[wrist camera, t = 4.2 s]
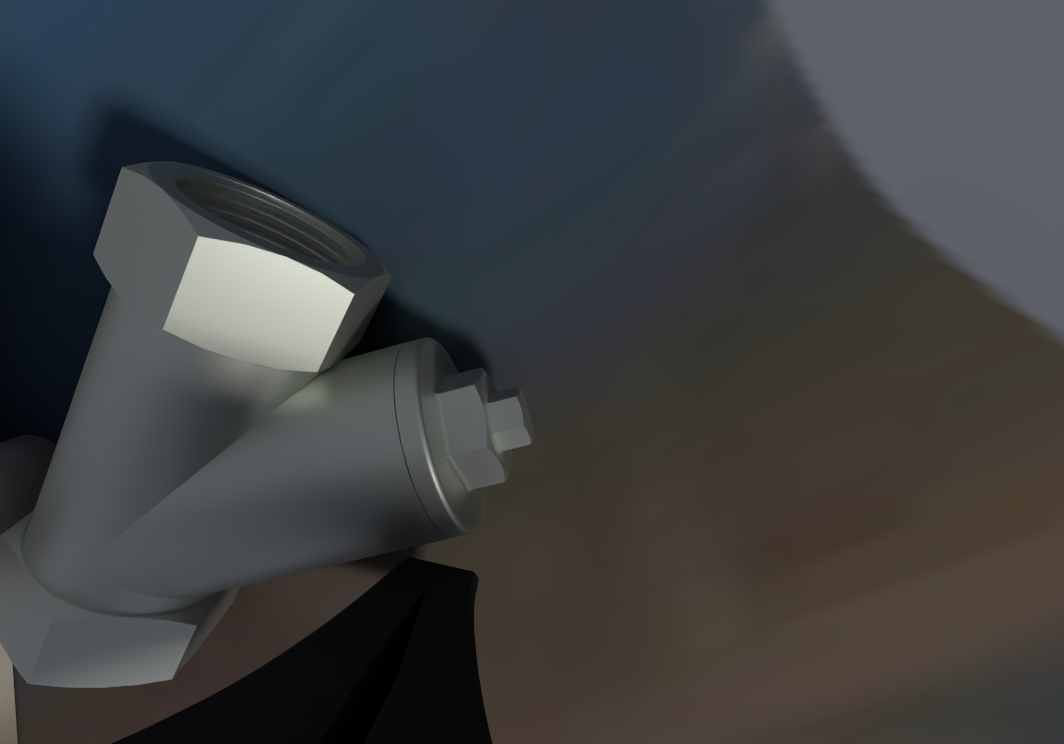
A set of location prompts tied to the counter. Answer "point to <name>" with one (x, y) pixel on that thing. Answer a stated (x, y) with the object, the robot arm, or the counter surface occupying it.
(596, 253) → the counter surface
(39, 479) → the light wooden bar
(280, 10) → the counter surface
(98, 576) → the pipe fitting
